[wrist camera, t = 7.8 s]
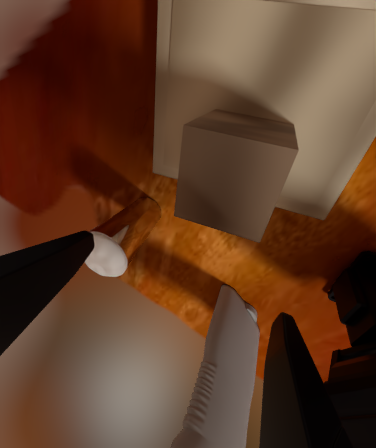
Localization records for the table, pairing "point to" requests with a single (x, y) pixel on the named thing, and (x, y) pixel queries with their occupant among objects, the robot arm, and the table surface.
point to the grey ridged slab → (223, 378)
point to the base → (272, 82)
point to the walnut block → (233, 171)
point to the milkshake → (122, 237)
